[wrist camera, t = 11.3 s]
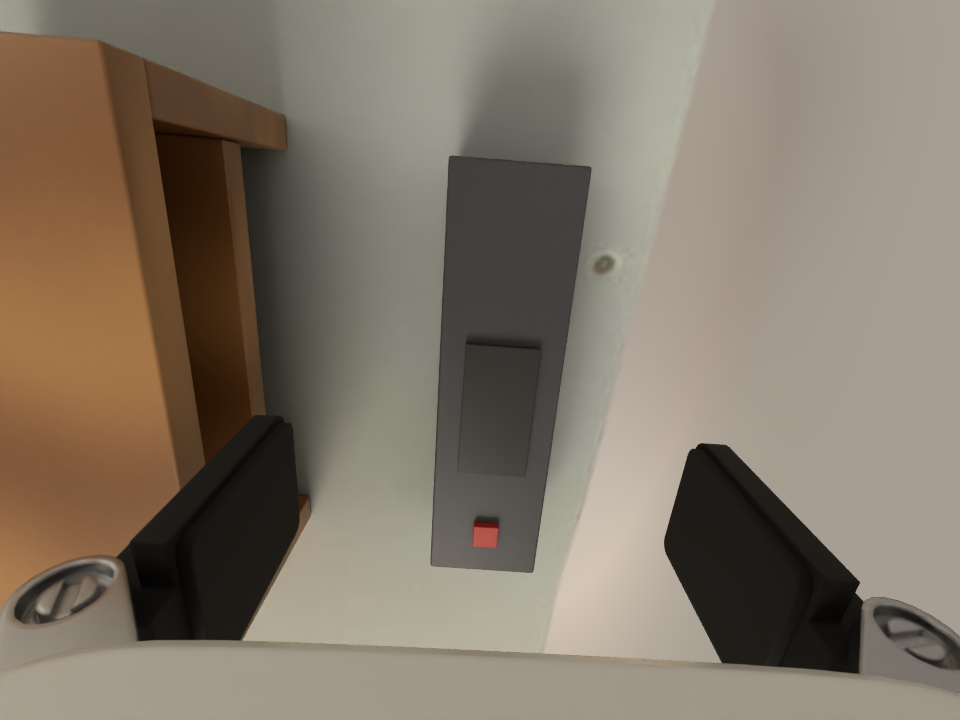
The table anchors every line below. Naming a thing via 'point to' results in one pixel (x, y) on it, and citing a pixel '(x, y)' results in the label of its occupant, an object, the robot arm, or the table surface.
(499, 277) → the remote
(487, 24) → the table surface
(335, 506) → the table surface
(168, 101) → the shelf
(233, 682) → the robot arm
